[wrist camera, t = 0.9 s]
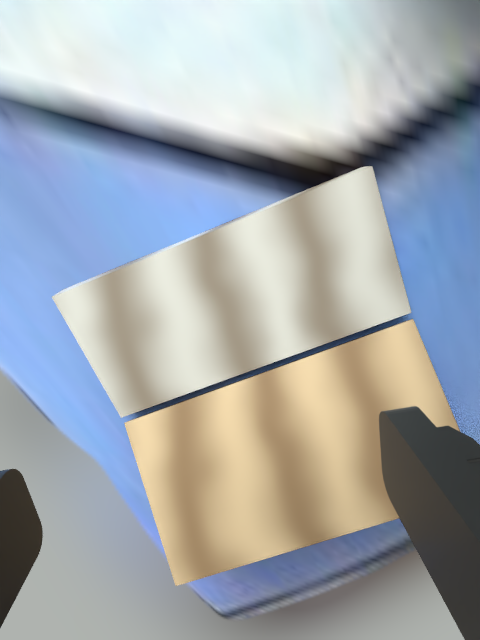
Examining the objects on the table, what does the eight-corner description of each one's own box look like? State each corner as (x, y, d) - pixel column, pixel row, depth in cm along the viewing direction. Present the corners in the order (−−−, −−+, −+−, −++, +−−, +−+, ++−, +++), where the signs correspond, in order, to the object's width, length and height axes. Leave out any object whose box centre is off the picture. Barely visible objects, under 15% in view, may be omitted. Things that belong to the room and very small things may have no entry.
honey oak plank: (405, 321, 29) (413, 318, 27) (472, 481, 28) (485, 491, 26) (135, 418, 32) (124, 422, 30) (183, 570, 30) (175, 586, 28)
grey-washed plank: (362, 167, 26) (372, 166, 24) (399, 304, 29) (411, 312, 27) (64, 289, 28) (51, 296, 27) (127, 403, 32) (121, 417, 30)
